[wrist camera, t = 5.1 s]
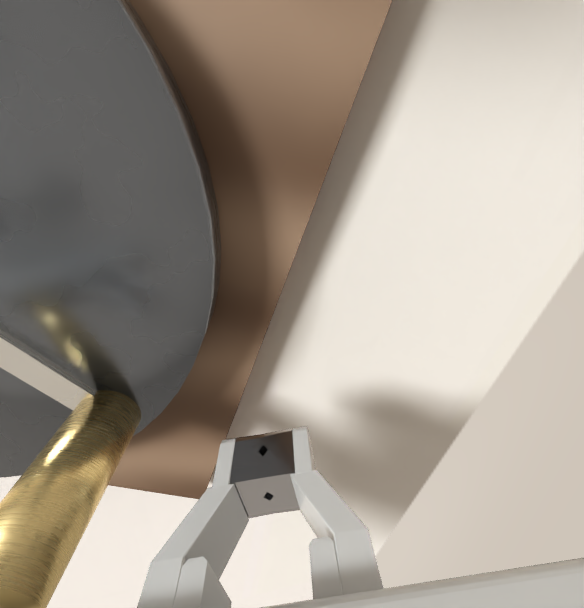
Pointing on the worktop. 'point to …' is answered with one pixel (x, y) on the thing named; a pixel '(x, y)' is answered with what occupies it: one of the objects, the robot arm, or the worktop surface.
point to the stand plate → (248, 188)
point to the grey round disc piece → (90, 266)
